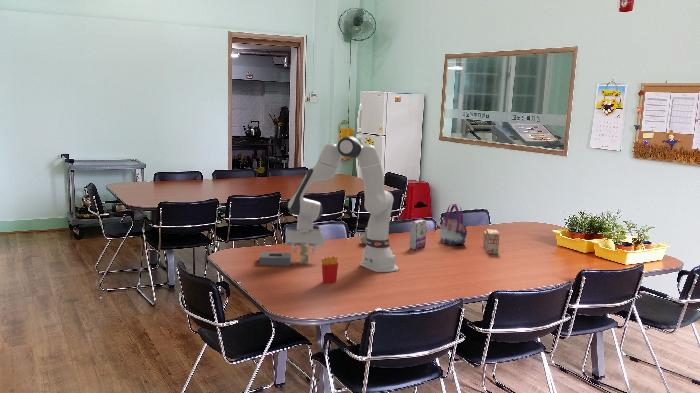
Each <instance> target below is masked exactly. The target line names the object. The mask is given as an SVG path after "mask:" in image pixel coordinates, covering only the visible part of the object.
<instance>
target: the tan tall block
mask: <svg viewBox="0 0 700 393" xmlns="http://www.w3.org/2000/svg"><path fill="white" fill-rule="evenodd" d="M309 247H310V246H309V244H300V246H299V264H300V265H302V264H303V265H309V255H310V254H309V252H310V248H309Z"/></svg>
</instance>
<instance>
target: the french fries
mask: <svg viewBox="0 0 700 393" xmlns="http://www.w3.org/2000/svg"><path fill="white" fill-rule="evenodd" d="M338 259H339V257H338V256H337V257H335V256H331V257H330V256H329V257H324V258H322V259H321V272H322V273H321V275H322V282H323V284H333V283H336V282H337V276H338V270H339V263H338Z"/></svg>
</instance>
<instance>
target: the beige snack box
mask: <svg viewBox="0 0 700 393" xmlns="http://www.w3.org/2000/svg"><path fill="white" fill-rule="evenodd" d="M500 235H501V234H500V232H499V230H498V229H491V228H490V229H489V228H487V229H485V230H484V231H483V245H484V246H483V248H484V247H485V248H484V249H485V251H486V253H487V254H491V253H493V254H494V255H498V254H499V245H500Z"/></svg>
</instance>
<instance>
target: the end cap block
mask: <svg viewBox="0 0 700 393" xmlns="http://www.w3.org/2000/svg"><path fill="white" fill-rule="evenodd" d="M291 264H292V252H289V251H288V252H284V251H281V252H280V251H261V252H260V253H259V257H258V265H259V266H282V267H283V266H288V267H289V266H291Z"/></svg>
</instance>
